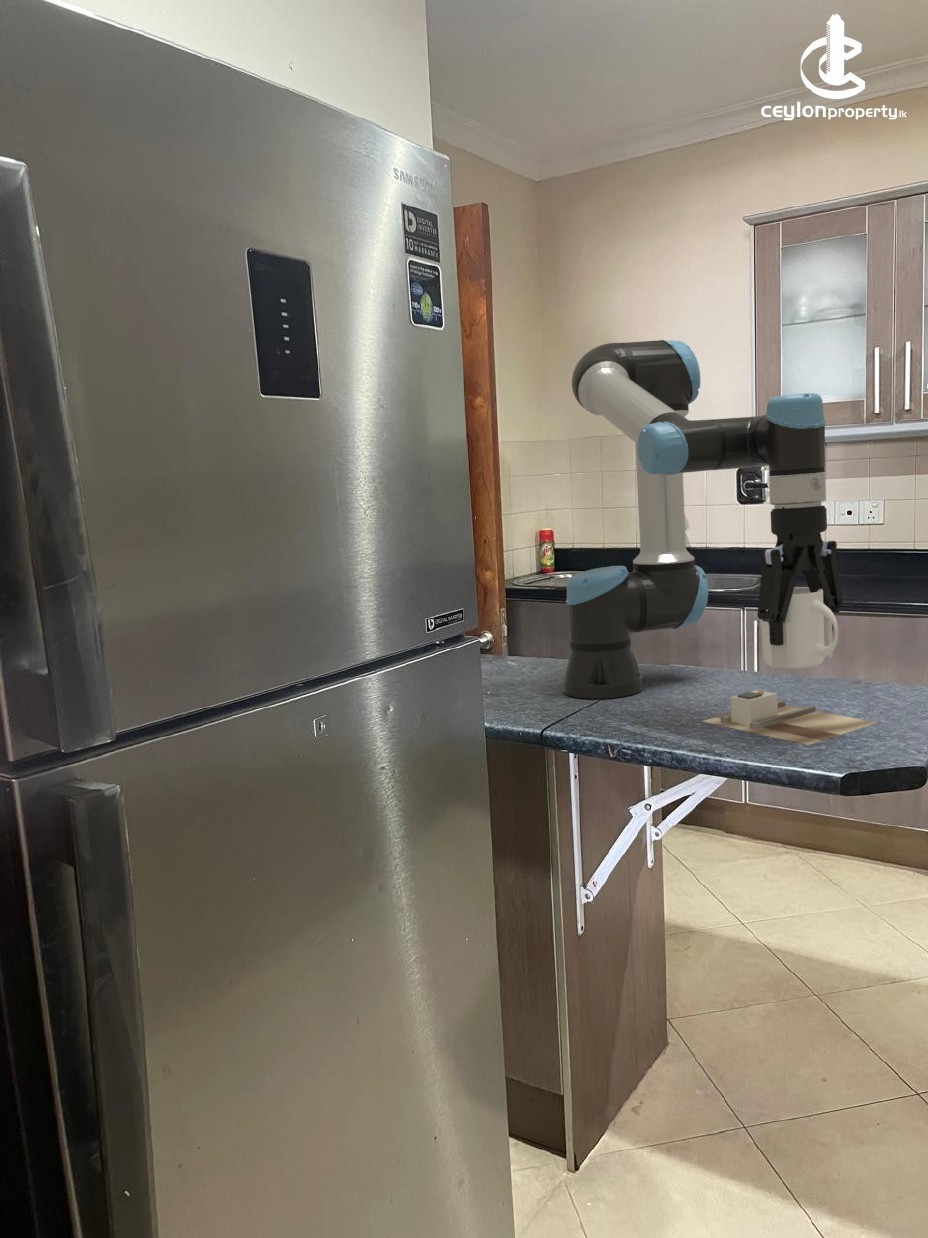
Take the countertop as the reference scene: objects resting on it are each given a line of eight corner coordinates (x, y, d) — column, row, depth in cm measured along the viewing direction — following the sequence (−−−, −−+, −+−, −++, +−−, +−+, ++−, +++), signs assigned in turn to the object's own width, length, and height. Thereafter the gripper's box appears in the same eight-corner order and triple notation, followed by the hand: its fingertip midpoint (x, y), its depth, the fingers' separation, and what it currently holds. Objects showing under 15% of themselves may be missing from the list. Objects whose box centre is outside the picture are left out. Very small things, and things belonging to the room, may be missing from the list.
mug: (817, 674, 128) (815, 597, 127) (750, 664, 139) (747, 592, 137) (858, 664, 133) (856, 589, 131) (790, 655, 143) (787, 585, 142)
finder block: (731, 722, 146) (730, 695, 145) (757, 714, 149) (756, 688, 148) (751, 726, 142) (750, 699, 142) (777, 718, 145) (777, 691, 145)
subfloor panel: (701, 728, 148) (701, 716, 148) (769, 709, 156) (769, 697, 156) (808, 753, 131) (808, 739, 131) (878, 730, 139) (877, 717, 139)
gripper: (768, 510, 124) (774, 677, 127) (868, 499, 135) (871, 652, 138) (725, 512, 130) (732, 671, 133) (823, 501, 141) (827, 648, 144)
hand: (802, 661), depth 136 cm, fingers closed on mug, 9 cm apart
